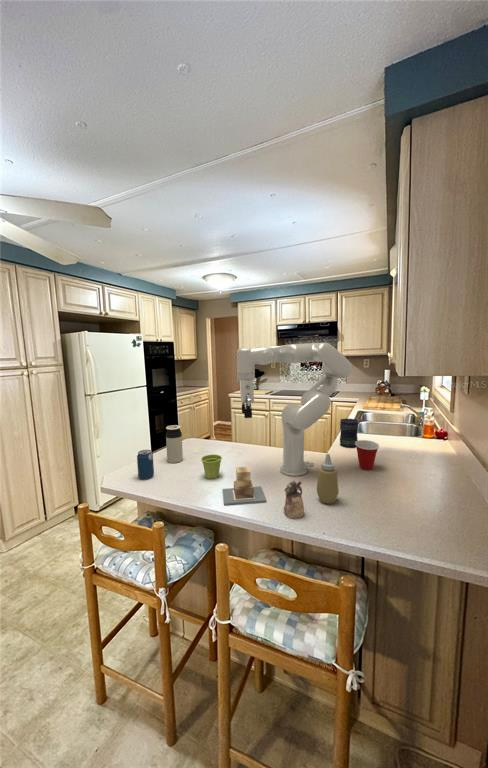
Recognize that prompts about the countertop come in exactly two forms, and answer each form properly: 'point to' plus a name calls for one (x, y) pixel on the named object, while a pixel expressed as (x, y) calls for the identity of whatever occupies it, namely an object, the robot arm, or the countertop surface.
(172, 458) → the travel mug
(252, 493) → the walnut base
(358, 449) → the plastic cup
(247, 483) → the oak cube
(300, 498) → the figurine
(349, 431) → the storage jar
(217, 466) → the plant pot
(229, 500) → the slate mat
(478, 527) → the countertop surface
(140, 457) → the soda can
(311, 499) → the countertop surface
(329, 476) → the squeeze bottle
